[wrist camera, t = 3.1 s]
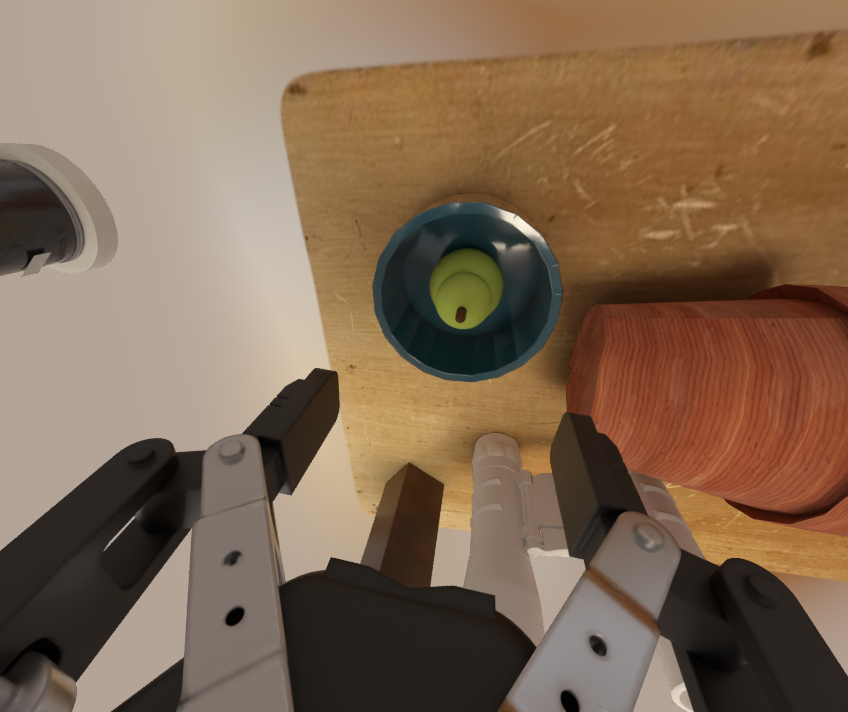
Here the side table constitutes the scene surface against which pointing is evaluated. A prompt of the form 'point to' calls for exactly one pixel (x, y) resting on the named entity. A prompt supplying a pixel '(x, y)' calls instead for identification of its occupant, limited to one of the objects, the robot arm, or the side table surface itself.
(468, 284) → the pear
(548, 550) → the binoculars
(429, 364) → the teal bowl
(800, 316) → the potted plant
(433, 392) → the side table surface
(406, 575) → the pedestal
